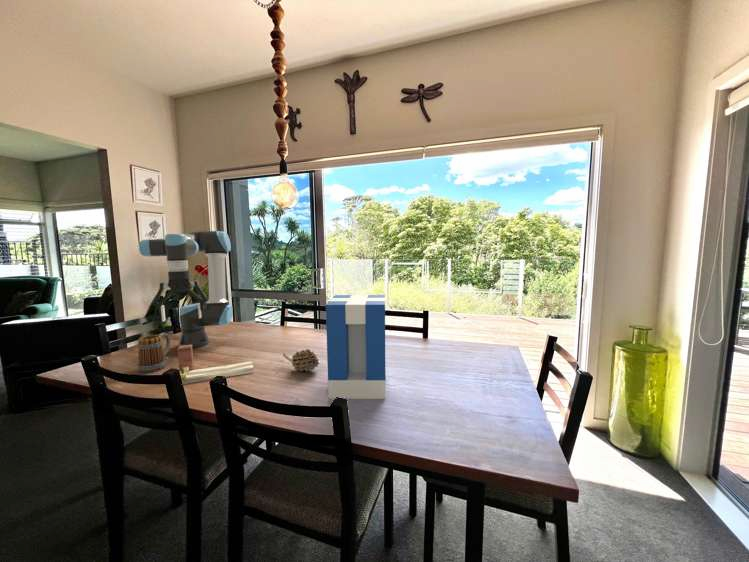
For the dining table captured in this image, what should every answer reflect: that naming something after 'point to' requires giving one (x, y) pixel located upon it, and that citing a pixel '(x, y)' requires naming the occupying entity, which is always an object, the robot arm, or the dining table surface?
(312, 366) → the pine cone
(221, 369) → the board
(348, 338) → the toy block
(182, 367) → the block
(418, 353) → the dining table surface
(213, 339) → the dining table surface
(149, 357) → the mug
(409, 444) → the dining table surface
